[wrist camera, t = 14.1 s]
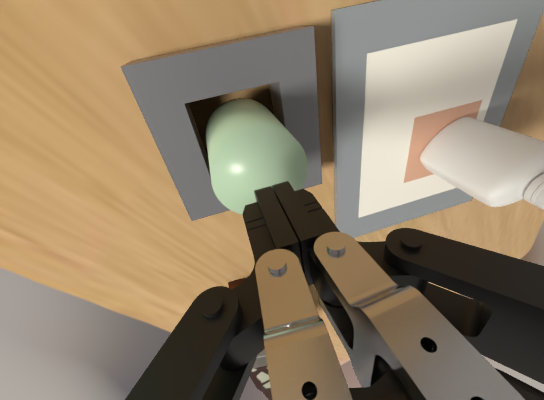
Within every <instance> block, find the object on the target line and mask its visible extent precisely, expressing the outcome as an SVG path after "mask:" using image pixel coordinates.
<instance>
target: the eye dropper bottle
mask: <svg viewBox="0 0 544 400" xmlns="http://www.w3.org/2000/svg"><path fill="white" fill-rule="evenodd" d="M420 161H421V163H422V164H423V166H424V167H425V168H426V169H427V170H428V171H430V172H432V173H433V174H435V175H437V176H438V177H440V178H442V179H443V180H445V181H447V182H448V183H450V184H452V185H453V186H455V187H457V188H458V189H460V190H462V191H463V192H465V193H467V194H468V195H470V196H472V197H474V198H475V199H477V200H479V201H480V202H482V203H484V204H486V205H488V206H491V207H500V206H505V205H508V204H512V203H514V202H517V201H520V200H522V199H524V200H526V201H527V202H529V203H531V204H533V205H535V206H537V207H539V208H541V209H543V210H544V141H541V140H538V139H535V138H532V137H530V136H526V135H523V134H520V133H517V132H514V131H511V130H508V129H505V128H502V127H499V126H496V125H493V124H489V123H486V122H483V121H480V120H477V119H474V118H471V117H462V118H460V119H457V120H455V121H454V122H452V123H450V124H449V125H447V126H446V127H445V128H443V129H442V130H441V131H440V132H439V133H437V134H436V135H435V136H434V137H433V138H432V140H431V141H430V142H429V143H428V144H427V146H426V147H425V148H424V150H423V151H422V153H421V155H420Z"/></svg>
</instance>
